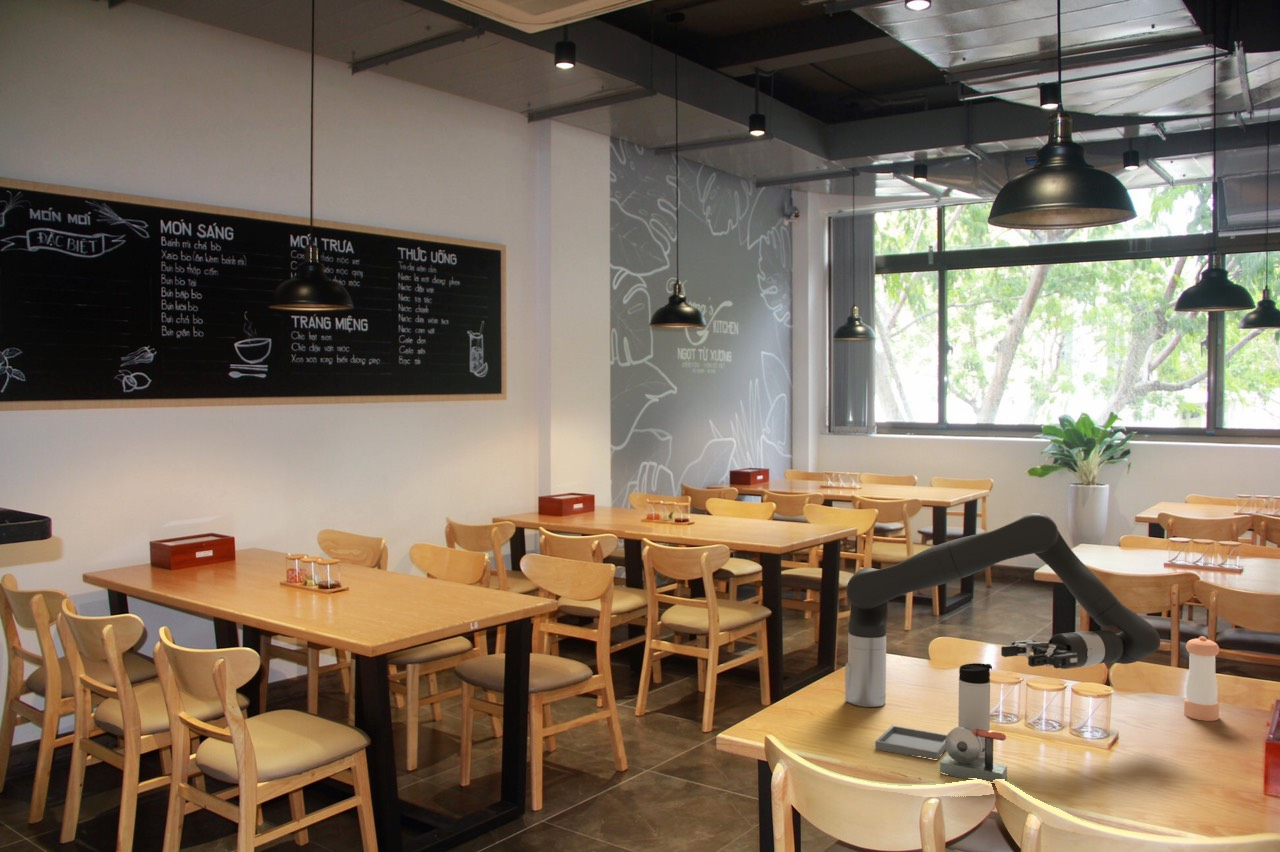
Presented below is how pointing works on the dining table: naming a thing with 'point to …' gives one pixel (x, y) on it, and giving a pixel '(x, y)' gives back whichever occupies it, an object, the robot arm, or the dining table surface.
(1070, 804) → the dining table surface
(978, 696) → the travel mug
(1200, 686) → the salt shaker
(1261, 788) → the dining table surface
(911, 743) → the tray
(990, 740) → the crank stand
